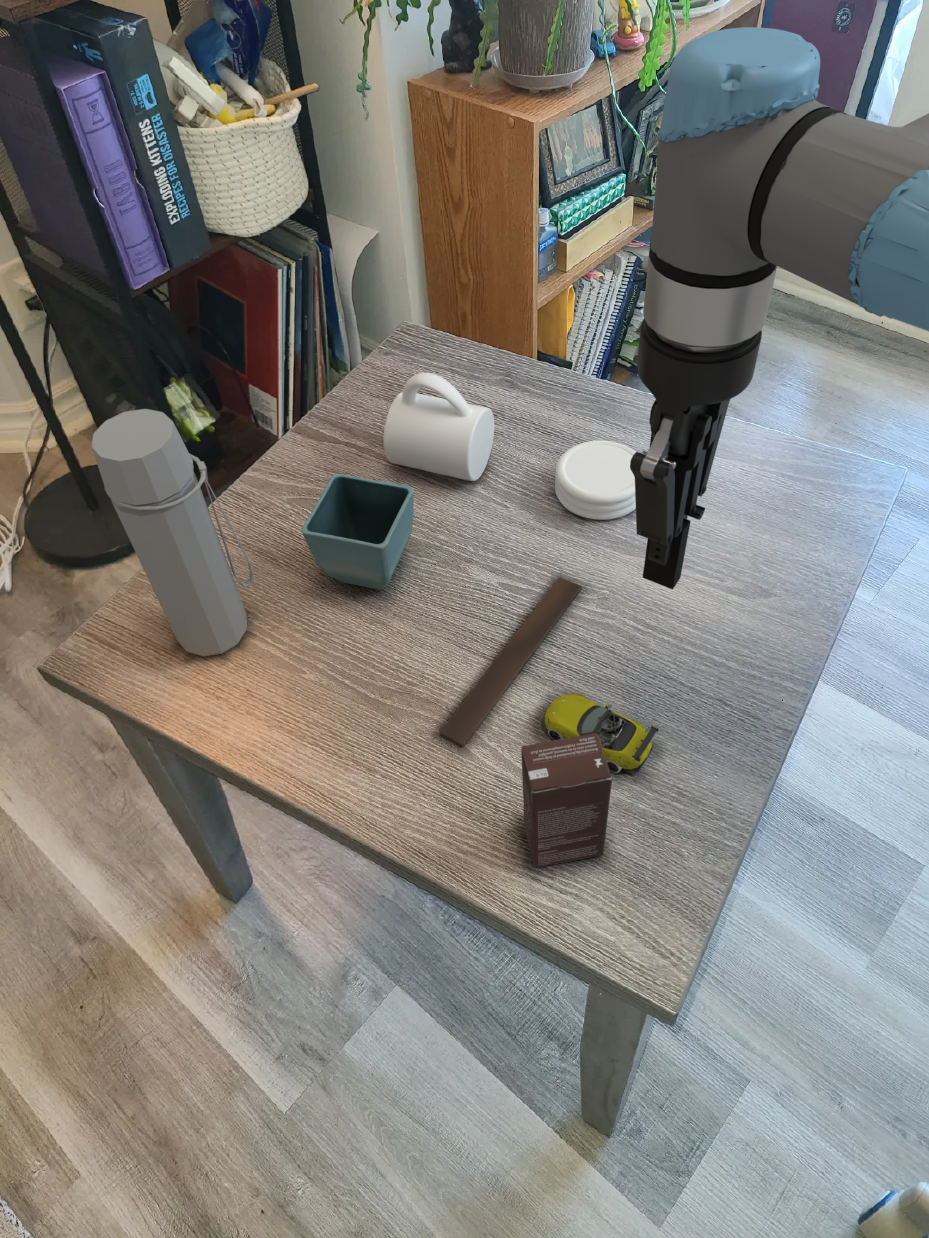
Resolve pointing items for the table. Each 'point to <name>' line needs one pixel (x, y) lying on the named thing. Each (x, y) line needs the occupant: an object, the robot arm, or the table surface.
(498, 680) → the ruler
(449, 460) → the mug
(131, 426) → the water bottle
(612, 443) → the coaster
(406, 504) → the flower pot
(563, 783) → the box
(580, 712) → the sports car
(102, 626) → the table surface
